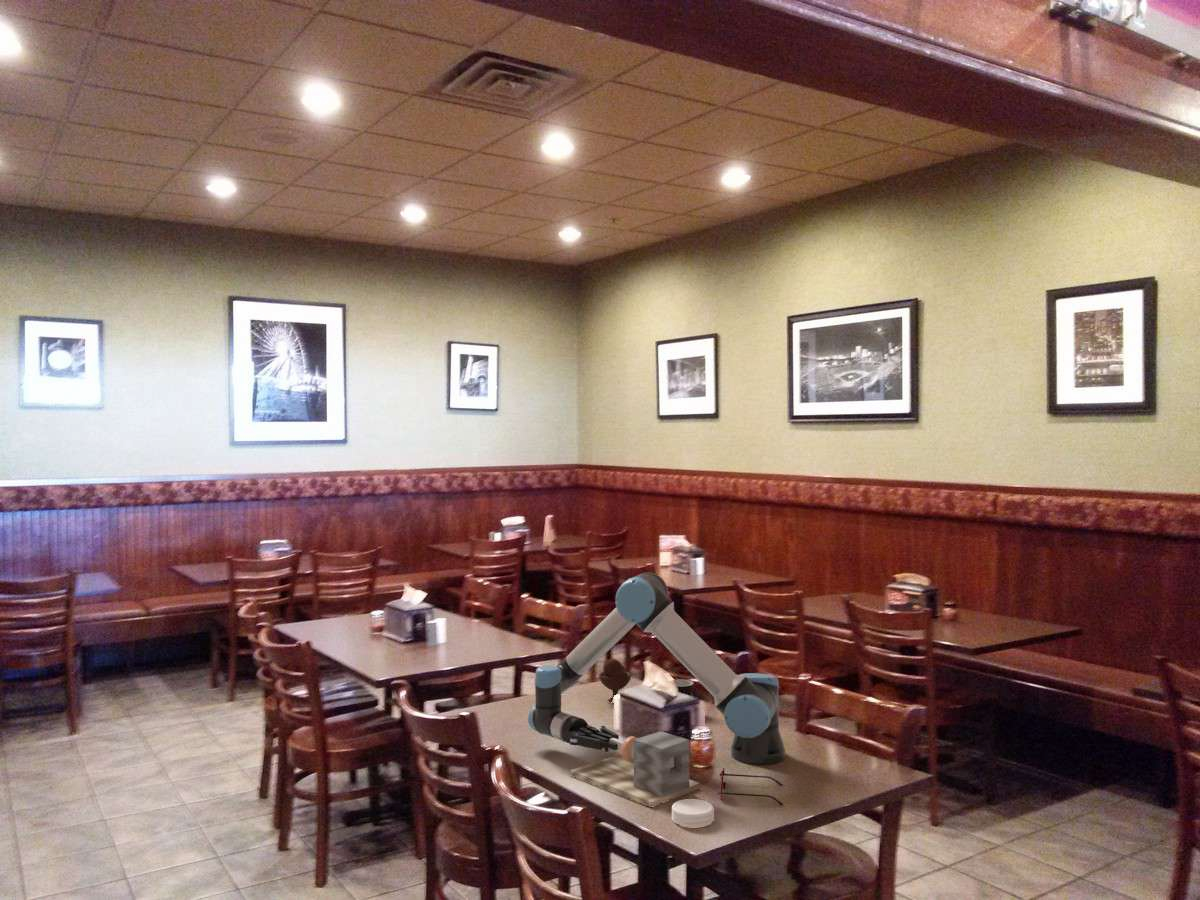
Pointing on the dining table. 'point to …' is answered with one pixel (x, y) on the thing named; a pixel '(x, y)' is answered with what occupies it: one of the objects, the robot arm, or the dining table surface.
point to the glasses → (744, 794)
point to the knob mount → (645, 770)
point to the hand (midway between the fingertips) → (628, 749)
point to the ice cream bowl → (614, 676)
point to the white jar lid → (692, 812)
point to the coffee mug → (685, 686)
